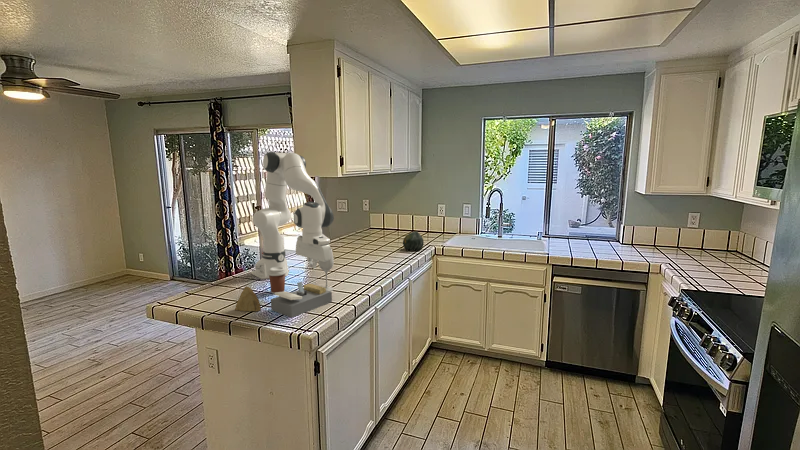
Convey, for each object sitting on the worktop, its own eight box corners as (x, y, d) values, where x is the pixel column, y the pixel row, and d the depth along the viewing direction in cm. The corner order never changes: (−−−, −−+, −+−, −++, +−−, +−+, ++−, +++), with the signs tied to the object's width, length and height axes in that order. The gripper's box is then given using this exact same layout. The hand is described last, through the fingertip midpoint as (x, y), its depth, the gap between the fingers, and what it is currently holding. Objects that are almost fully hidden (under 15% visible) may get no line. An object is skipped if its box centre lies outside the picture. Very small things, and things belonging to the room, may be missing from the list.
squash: (399, 240, 296) (404, 228, 285) (418, 240, 300) (423, 228, 289) (403, 256, 287) (408, 243, 276) (422, 255, 292) (428, 243, 281)
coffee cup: (280, 287, 202) (279, 265, 200) (291, 291, 197) (290, 268, 195) (264, 292, 195) (263, 268, 193) (275, 296, 190) (274, 272, 188)
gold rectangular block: (303, 289, 184) (303, 285, 184) (309, 287, 187) (309, 283, 187) (319, 294, 178) (319, 289, 177) (325, 292, 180) (325, 287, 180)
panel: (271, 310, 172) (270, 295, 171) (311, 295, 190) (311, 282, 189) (291, 317, 164) (291, 302, 163) (331, 301, 182) (331, 287, 181)
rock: (268, 304, 173) (257, 295, 179) (256, 292, 167) (246, 284, 174) (248, 323, 168) (239, 313, 175) (236, 311, 163) (227, 302, 170)
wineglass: (319, 292, 195) (318, 251, 192) (318, 287, 202) (317, 248, 199) (335, 291, 197) (334, 250, 194) (333, 286, 204) (332, 247, 201)
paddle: (299, 295, 176) (296, 283, 176) (303, 294, 177) (299, 282, 177) (301, 295, 175) (298, 282, 175) (305, 294, 176) (302, 281, 177)
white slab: (274, 294, 171) (274, 292, 171) (285, 293, 176) (286, 291, 176) (290, 299, 164) (291, 297, 164) (302, 298, 169) (302, 296, 169)
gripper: (292, 235, 182) (292, 264, 184) (322, 242, 170) (322, 273, 172) (302, 233, 187) (303, 262, 189) (333, 240, 175) (333, 270, 177)
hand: (312, 267), depth 180 cm, fingers closed
